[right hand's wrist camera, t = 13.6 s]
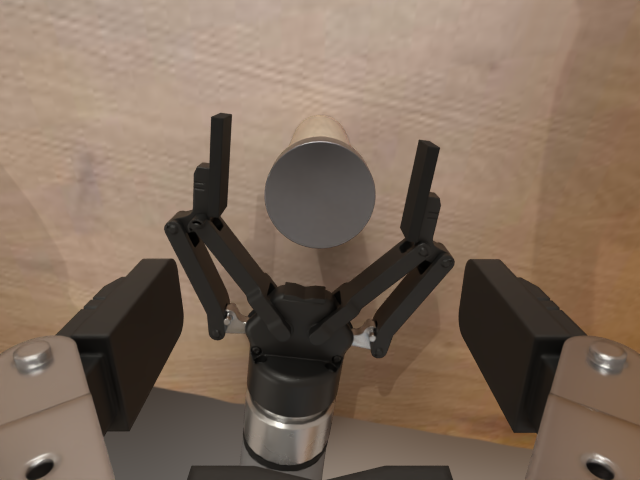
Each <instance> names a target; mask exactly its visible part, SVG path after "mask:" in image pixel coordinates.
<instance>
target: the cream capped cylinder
mask: <svg viewBox="0 0 640 480" xmlns="http://www.w3.org/2000/svg"><path fill="white" fill-rule="evenodd" d="M319 136H321V137H330V138H335V139H337V140H340V141H342V142H344V143H346V144H348V145H349V146H351V145H350V142H349V140H348V137H347V135H346V132H345V130H344V129H343V127H342V126H341V124H340V123H339V122H338V121H336V120H335V119H333V118H331V117H329V116H325V115H315V116H311V117H309V118H307V119H305V120H304V121H302V122H301V123H300V124H299V126H298V127H297V129H296V130H295V132H294V135H293V137H292V140H291V142H290V145H289V146H291V145H292V144H294V143H296V142H298V141H300V140H303V139H305V138H310V137H319Z"/></svg>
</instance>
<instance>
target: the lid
mask: <svg viewBox="0 0 640 480" xmlns="http://www.w3.org/2000/svg"><path fill="white" fill-rule="evenodd" d="M265 205H266V208H267V212H268V214H269V217H270V219H271V221H272V222H273V224H274V225H275V227H276V228H277V229H278V230H279V231H280V232H281V233H282V234H283V235H284V236H285V237H287V238H288V239H290V240H291V241H293V242H295V243H297V244H299V245H302V246H305V247H310V248H330V247H335V246H338V245H341V244H343V243H345V242H347V241H349V240H350V239H352V238H353V237H355V236H356V235H357V234H358V233H359V232H360V231H361V230H362V229H363V228H364V227H365V225H366V224H367V222H368V221H369V219H370V217H371V214H372V212H373V208H374V205H375V186H374V181H373V178H372V175H371V173H370V171H369V169H368V167H367V165H366V163H365V161H364V160H363V158H362V157H361V156H360V154H359V153H358V152H357V151H356V150H355V149H354V148H352V147H351V146H349V145H348V144H346V143H344V142H342V141H340V140H337V139H335V138H330V137H321V136H319V137H310V138H305V139H303V140H300V141H298V142H296V143H294V144H292V145H291V146H289V147H288V148H286V149H285V150H284V151H283V152H282V153H281V154H280V156H279V157H278V158H277V160H276V161H275V163H274V165H273V167H272V169H271V171H270V173H269V175H268V178H267V181H266V186H265Z"/></svg>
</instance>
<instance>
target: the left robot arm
mask: <svg viewBox="0 0 640 480" xmlns="http://www.w3.org/2000/svg"><path fill="white" fill-rule="evenodd" d="M231 123H232V114H226V113H219V114H217V115H215V116H212V117H211V138H210V163H201V164H200V165H199V166H197V168H196V170H195V172H194V192H193V210H190V211H179V212H178V213H177V214H176V215H175V216H174V217H173V218H172V219H171V220H169V221H168V222H167V223H166V225H165V227H164V230H165V233H166V235H167V237H168V239H169V241H170V243H171V245H172V247H173V249H174V251H175V253H176V255H177V257H178V259H179V261H180V263H181V264H182V266H183V268H184V270H185V272H186V274H187V276H188V278H189V280H190V282H191V284H192V286H193V288H194V290H195V292H196V294H197V296H198V298H199V300H200V302H201V304H202V305H203V307H204V309H205V311H206V313H207V319H208V329H209V335H210V337H211V338H212V339H214V340H221V339H223V338H224V336H225V333H246V335H247V337H248V339H249V342H250V353H249V365H248V376H247V391H246V399H245V412H244V428H243V443H242V451H241V459H240V466H258V467H262V468H266V469H270V470H274V471H279V472H283V473H287V474H291V475H295V476H299V477H304V478H308V479H312V480H322V473H323V466H324V459H325V452H326V446H327V442H328V438H329V434H330V429H331V424H332V418H333V413H334V408H335V398H336V395H337V390H338V385H339V380H340V374H341V369H342V363H343V358H344V355H345V353H346V351H347V350H348V349H349V348H350V346H351V345H352V346H357V347H361V348H366V349H371V353H372V355H373V356H374V357H375V358H382V357H384V356H385V355H386V353H387V351H388V348H389V345H390V343H391V340H392V337H393V335H394V334H395V333H396V332H397V331H398V329H399V328H400V327H401V326H402V325H403V324H404V323H405V321H406V320H407V319H408V318H409V317H410V316H411V315H412V313H413V312H414V311H415V310H416V309H417V308H418V307H419V305H420V304H421V303H422V302H423V301H424V300H425V299H426V297H427V296H428V295H429V294H430V293H431V292H432V290H433V289H434V288H435V287H436V286H437V285H438V284H439V282H440V281H441V280H442V279H443V278H444V277H445V276H446V274H447V273H448V272H449V271H450V270H451V269H452V268H453V266H454V262H455V261H454V259H453V257H452V256H451V254H450V253H449V252H448V250H447V249H446V247H445V246H444V245H443V244H442V243H437V242H435V241H433V235H434V231H435V227H436V223H437V219H438V215H439V211H440V207H441V204H440V198H439V197H438V196H437V195H436V194H435V193H433V192H430V188H431V184H432V180H433V175H434V171H435V167H436V163H437V158H438V154H439V150H440V147H438V146H436V145H435V144H433V143H432V142H430V141H425V140H419V142H418V147H417V151H416V156H415V161H414V165H413V170H412V175H411V179H410V184H409V189H408V193H407V198H406V203H405V207H404V212H403V217H402V221H401V226H400V228H401V230H402V232H403V234H404V236H405V238H404V239H403V240H402V241H401V242H399V243H398V244H397V245H396V246H394V247H393V248H392V249H391V250H389V251H388V252H387V253H386V254H384V255H383V256H382V257H380V258H379V259H378V260H377V261H375V262H374V263H373V264H372V265H370V266H369V267H368V268H367V269H365V270H364V271H363V272H362V273H360V274H359V275H358V276H356V277H355V278H354V279H353V280H351V281H350V282H349V283H344V284H342V285H341V286H340V287H338V288H337V289H336V290H335V291H333V292H332V293H331V292H330V291H328V290H325V287H323V286H308V287H304V286H302V285H299V284H296V283H289V282H286V284H285V285H282V286H279V287H277V285H276V284H275V283H274V282H273V280H272V279H271V278H270V276H269V275H268V274H267V273H264V272H263V271H262V270H261V268H260V267H259V266H258V265H257V263H256V262H255V261H254V259H253V258H252V257H251V255H250V254H249V253H248V252H247V250H246V249H245V248H244V246H243V245H242V244H241V242H240V241H239V240H238V239H237V237H236V236H235V235H234V233H233V232H232V231H231V229H230V228H229V227H228V226H227V224H226V223H225V222H224V220H223V219H222V218H221V214H222V213H223V211H224V210H225V208H226V207H227V198H228V179H229V160H230V141H231ZM204 243H205V244H204ZM205 245H206V246H207V247H208V248H209V250H210V251H211V252H212V253H213V255H214V256H215V257H216V258H217V260H218V261H219V262H220V263H221V265H222V266H223V267H224V268H225V270H226V271H227V272H228V273H229V274H230V276H231V277H232V278H233V279H234V281H235V282H236V283H237V284H238V286H239V287H240V288H241V289H242V291H243V292H244V293H245V295H246V296H247V300H248V302H249V304H250V305H251V307H252V308H253V310H252V311H251V312H250V314H249V315H248V316H243V315H242V314H240V312H239V310H238V308H237V307H236V304H234V303H230V300H229V296H228V292H227V290H226V288H225V286H224V284H223V282H222V279H221V277H220V275H219V273H218V271H217V269H216V267H215V265H214V263H213V261H212V259H211V257H210V254H209V252H208V250H207V248H206V246H205ZM407 273H408V274H407ZM406 274H407V275H406ZM405 275H406V276H405ZM403 276H405V278H404V279H403V280H402V281H401V282H400V284H399V285H398V286H397V287H396V288H395V290H394V291H393V292H392V293H391V294H390V296H389V297H388V298H387V299H386V300H385V302H384V303H383V304H382V305H381V306H380V308H379V309H378V310H377V312H376V314H375V315H374V318H373V320H372V319H367V320H366V322H365V323H364V324H363V326H362V327H361V328H358V329H353V327H352V324H351V322H350V321H351V320H352V319H354V318H355V317H356V316H357V315H358V314H359V312H360V310H361V309H362V308H363V307H364V306H365V305H367V304H368V303H369V302H371V301H372V300H373V299H375V298H376V297H377V296H379V295H380V294H381V293H382V292H384V291H385V290H386V289H388V288H389V287H390V286H392V285H393V284H394V283H396V282H397V281H398V280H399V279H401V278H402V277H403Z"/></svg>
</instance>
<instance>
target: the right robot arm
mask: <svg viewBox="0 0 640 480" xmlns="http://www.w3.org/2000/svg"><path fill="white" fill-rule="evenodd" d="M183 319H184V314H183V305H182V298H181V291H180V283H179V276H178V269H177V265H176V262H175V260H174V259H142V260H141V261H140V262H139V263H138V264H137V265H136V266H135V267H134V269H133V270H132V271H131V272H130V273H129V274H128V275H127V276H126V277H121V278H119V279H117V280H115V281H113V282H111V283H110V284H108V285H106V286H104V287H103V288H102V289H101V290H100V291H99V292H98V293H97V294H96V295H95V296H94V297H93V300H90V301H89V302H88V303H87V304H86V305H85V306H84V309H81V310H80V311H79V312H78V313H77V314H76V315H75V316H74V317H73V318H72V319H71V320H70V321H69V322H68V323H67V324H66V325H65V326H64V327H63V328H62V329H61V330H60V331H59V332H58V333H57V334H56V335H55V336H44V337H39V338H35V339H31V340H28V341H25V342H22V343H20V344H17V345H15V346H13V347H11V348H9V349H7V350H6V351H4V352H3V353H1V354H0V480H115V477H114V473H113V470H112V466H111V463H110V459H109V456H108V452H107V449H106V445H105V441H104V438H103V437H104V436H105V434H106V432H107V431H130V429H131V427H132V425H133V424H134V422H135V420H136V418H137V416H138V414H139V412H140V410H141V408H142V407H143V405H144V403H145V401H146V399H147V397H148V395H149V393H150V391H151V390H152V388H153V386H154V384H155V382H156V380H157V378H158V376H159V374H160V373H161V371H162V369H163V367H164V365H165V363H166V361H167V359H168V357H169V355H170V354H171V352H172V350H173V348H174V346H175V344H176V342H177V340H178V338H179V337H180V334H181V332H182V327H183ZM459 327H460V332H461V335H462V337H463V339H464V341H465V342H466V344H467V346H468V348H469V350H470V352H471V354H472V356H473V357H474V359H475V361H476V363H477V365H478V367H479V369H480V370H481V372H482V374H483V376H484V378H485V380H486V382H487V383H488V385H489V387H490V389H491V391H492V393H493V395H494V397H495V398H496V400H497V402H498V404H499V406H500V408H501V410H502V411H503V413H504V415H505V417H506V419H507V421H508V423H509V425H510V426H511V428H512V430H513V432H514V433H537V438H536V441H535V445H534V449H533V452H532V456H531V459H530V463H529V466H528V470H527V473H526V477H525V480H640V354H639V353H637V352H636V351H634V350H633V349H631V348H629V347H627V346H625V345H623V344H620V343H618V342H615V341H612V340H609V339H605V338H601V337H596V336H587V335H586V334H585V333H584V332H583V331H582V330H581V329H580V328H579V327H578V326H577V325H576V324H575V323H574V322H573V321H572V320H571V319H570V318H569V317H568V316H567V315H566V314H565V313H564V312H563V311H562V310H559V307H558V306H557V305H556V304H555V303H554V302H553V301H550V298H549V297H548V296H547V295H546V294H545V293H544V292H543V291H542V290H541V289H540V288H539V287H537V286H536V285H534V284H532V283H530V282H528V281H526V280H524V279H523V278H521V277H516V276H515V275H514V274H513V273H512V272H511V271H510V270H509V268H508V267H507V266H506V265H505V264H504V263H503V262H502V261H501V260H499V259H470V260H468V261H467V263H466V266H465V271H464V279H463V286H462V293H461V300H460V307H459ZM187 480H312V479H308V478H304V477H299V476H295V475H291V474H287V473H283V472H279V471H274V470H270V469H266V468H262V467H258V466H191V469H190V472H189V475H188V478H187ZM328 480H453V478H452V475H451V472H450V469H449V466H382V467H378V468H374V469H370V470H366V471H362V472H357V473H353V474H349V475H345V476H341V477H337V478H333V479H328Z"/></svg>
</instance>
